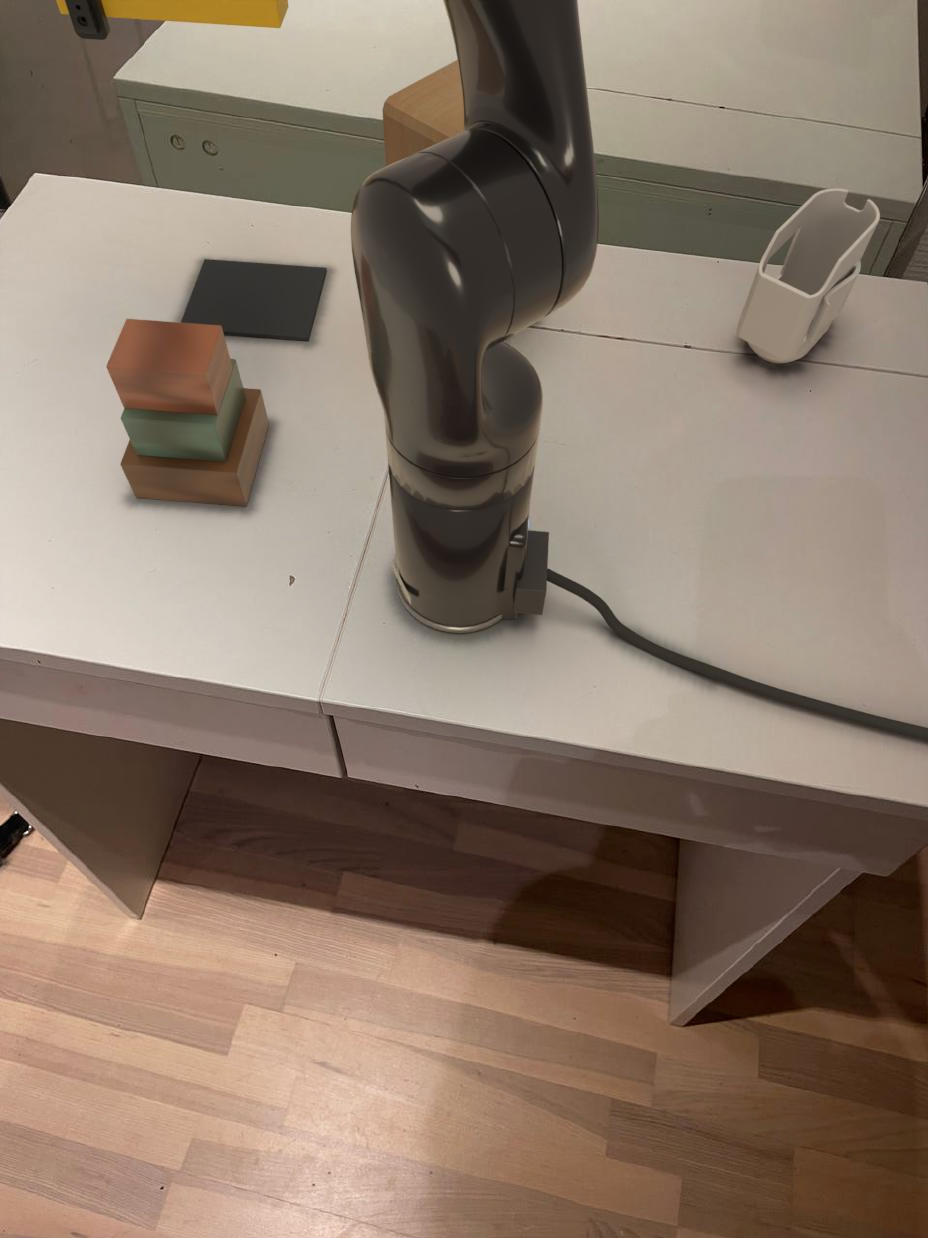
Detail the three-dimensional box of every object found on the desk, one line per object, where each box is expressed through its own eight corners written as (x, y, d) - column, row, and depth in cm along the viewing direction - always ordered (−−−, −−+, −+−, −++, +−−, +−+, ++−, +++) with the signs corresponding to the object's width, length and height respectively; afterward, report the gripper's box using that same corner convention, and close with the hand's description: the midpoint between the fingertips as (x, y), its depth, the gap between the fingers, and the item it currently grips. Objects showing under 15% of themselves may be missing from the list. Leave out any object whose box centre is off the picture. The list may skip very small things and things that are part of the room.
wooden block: (390, 316, 82) (376, 95, 65) (462, 267, 86) (467, 46, 69) (468, 368, 78) (475, 150, 61) (540, 314, 82) (565, 95, 65)
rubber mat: (326, 270, 85) (326, 267, 85) (308, 341, 80) (308, 337, 79) (205, 262, 85) (204, 258, 85) (179, 331, 80) (178, 327, 80)
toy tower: (269, 423, 74) (241, 307, 64) (246, 506, 70) (212, 395, 59) (165, 416, 75) (120, 299, 64) (135, 497, 70) (82, 385, 60)
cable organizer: (719, 361, 79) (760, 244, 69) (785, 293, 84) (832, 174, 74) (784, 395, 77) (836, 280, 67) (848, 323, 82) (905, 206, 72)
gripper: (16, -294, 42) (127, 80, 57) (103, -371, 49) (181, -21, 64) (-136, -303, 42) (14, 73, 57) (-28, -378, 49) (80, -28, 64)
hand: (102, 21), depth 60 cm, fingers closed on yellow bar, 3 cm apart
